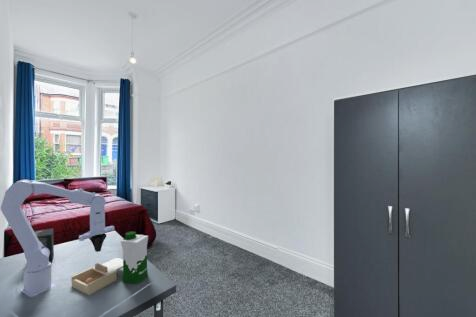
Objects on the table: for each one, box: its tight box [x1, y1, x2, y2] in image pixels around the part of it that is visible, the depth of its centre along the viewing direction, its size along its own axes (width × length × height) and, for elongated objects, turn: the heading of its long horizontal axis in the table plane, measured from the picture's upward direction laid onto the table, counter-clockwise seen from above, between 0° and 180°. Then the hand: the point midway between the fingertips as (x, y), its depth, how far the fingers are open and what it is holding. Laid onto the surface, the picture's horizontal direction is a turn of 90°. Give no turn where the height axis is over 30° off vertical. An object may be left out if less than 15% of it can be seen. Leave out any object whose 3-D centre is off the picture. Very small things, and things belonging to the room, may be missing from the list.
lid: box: [93, 257, 123, 275], centre depth 95 cm, size 10×11×3 cm
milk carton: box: [120, 231, 149, 285], centre depth 92 cm, size 9×9×20 cm
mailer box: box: [71, 265, 118, 296], centre depth 89 cm, size 12×11×5 cm
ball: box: [85, 278, 94, 284], centre depth 87 cm, size 3×3×3 cm
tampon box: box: [34, 228, 55, 264], centre depth 108 cm, size 11×9×15 cm
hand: (97, 250), depth 98 cm, fingers closed
